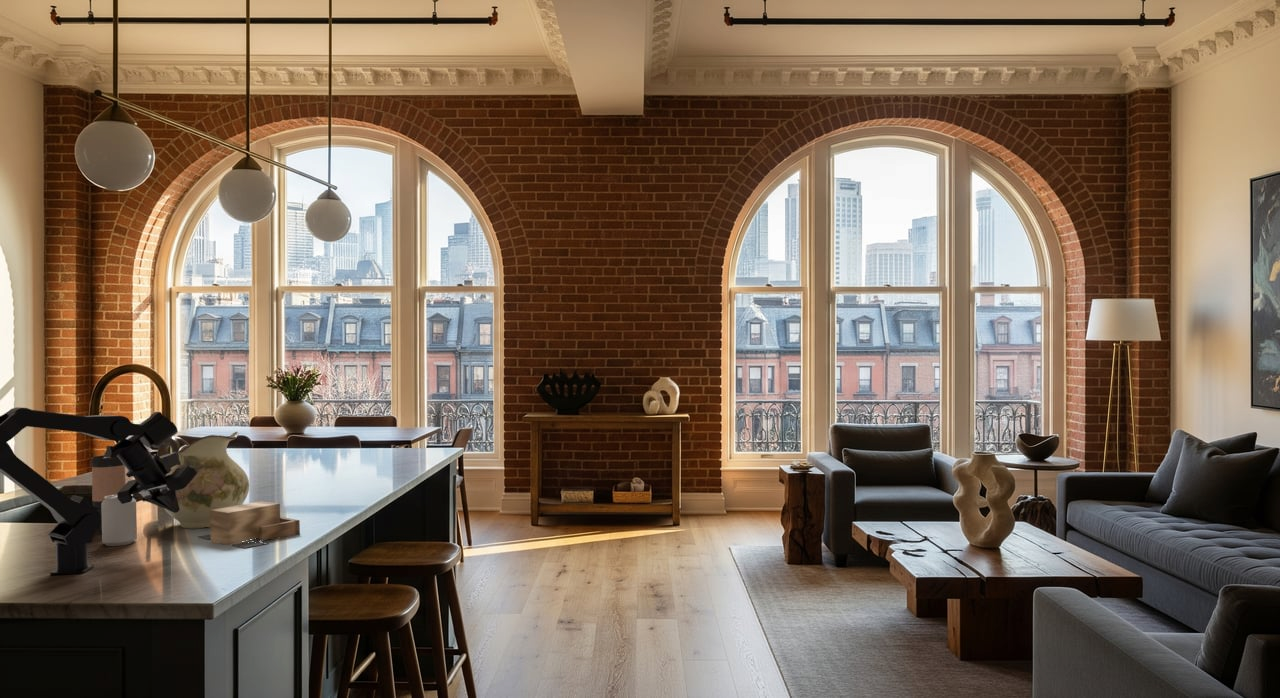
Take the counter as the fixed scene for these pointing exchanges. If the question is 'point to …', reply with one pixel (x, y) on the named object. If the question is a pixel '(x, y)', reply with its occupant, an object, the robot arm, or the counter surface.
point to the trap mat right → (248, 544)
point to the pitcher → (206, 478)
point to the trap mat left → (206, 537)
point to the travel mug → (106, 480)
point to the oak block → (242, 521)
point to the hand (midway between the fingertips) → (177, 511)
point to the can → (118, 521)
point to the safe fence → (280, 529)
